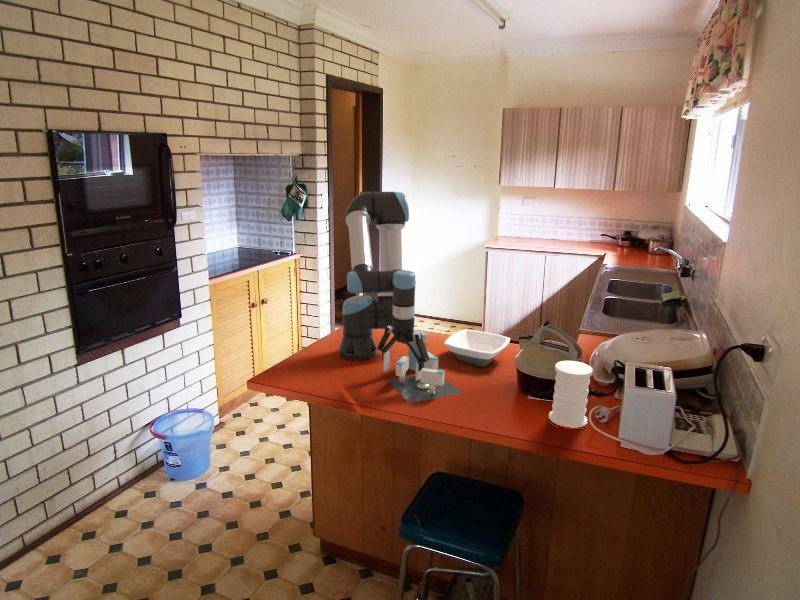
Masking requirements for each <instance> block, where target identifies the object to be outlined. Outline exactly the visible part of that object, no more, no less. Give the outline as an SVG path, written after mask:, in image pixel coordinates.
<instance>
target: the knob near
mask: <svg viewBox="0 0 800 600" xmlns="http://www.w3.org/2000/svg"><path fill="white" fill-rule="evenodd" d="M408 370H410V369H409V357H408V356H405V355H403V356H401V357H400V359H399V360H397V361H396V362H395V376H396V377H399V378H398V379H399V382H400V383H404V382H405V377H406V373H407V371H408Z"/></svg>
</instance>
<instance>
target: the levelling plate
mask: <svg viewBox="0 0 800 600" xmlns="http://www.w3.org/2000/svg"><path fill="white" fill-rule="evenodd" d="M420 380H421V379H419V380H418V381H417V380H416V375H412V376H410V375H409V376H405V382H404V383H400V382H399V378H395V379H394V378H393V379H389V380H386V382H387V383H388V384H389V385H390V386H391V387H392V388H393V389H394V390H395V391H396V392H397V393H398V394H399V395H400V396H401V397H402V398H403V399H404V400H405V401H406V402H407V403H408V404H413V403H418V402H419V403H420V402H424V401H429V400H435V399H440V398H445V397H450V396H455V395H461V394H463V392H462V391H461V390H460V389H459V388H458V387H456V386H454V385H453V384H452V383H451V382H450V381H448V380H447V379H446V378H445V377H444V384H443V386H440V385H435V394H429V384H427V383H421V382H420Z"/></svg>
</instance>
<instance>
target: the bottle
mask: <svg viewBox="0 0 800 600" xmlns="http://www.w3.org/2000/svg"><path fill="white" fill-rule="evenodd" d="M413 331H414V333H422V340H423V343H424V345H425V348H426V351H427V352H429V350H428V348H429V346H428V342H427V340H428V339H427V337H428V332H427V331H425V330H422V329H413ZM413 339H414V337H413ZM410 342H411V341H410ZM415 344H416V341H415ZM416 345H417V344H416ZM407 357H409V369H408V370H410V371H414V372H416V362H418V361H417V359H416V357H415V356H414V354H413V352H412V351H411V349H410V347H409V346H408V356H407ZM424 368H427V367H426V366H425V365H424Z"/></svg>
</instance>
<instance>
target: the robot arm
mask: <svg viewBox="0 0 800 600" xmlns="http://www.w3.org/2000/svg"><path fill="white" fill-rule="evenodd" d="M344 220H345V223H346V226H347V227H348V236H349V238H348V239H349V248H350V249H349V250H350V264H351V271H348V272H347V273H346V283H347V284H346V285H347V291H348V293H350V294H362V295H355V296H351V297H349V298H347V299H345V300H344V301H343V303H342V312H341V314H342V338H341V341H340V344H339V347H338V356H339V357H340V358H342V359H344V360H347V361H353V362H354V361H355V362H356V361H357V362H358V361H367V360H370V359H373V358H375V357H376V355H377V350H378V351H380V352H381V361H383V372H386V371H388V370H390V368H391V367H390V362H391V358H390V357H391V353H390V352H391V351H390V350H389V349H391V348H392V346H393V345H394V344H395V343H402V344H404V345H406V346H407V347H408V348H409V347H410V349H411V351H412V352H413V354H414V356H415V357H416V359H417V361H418V362H416V371H415V376H416V380H417V381H418V380H419V379H421V369H422V368H424V362H426V361H428V360H429V356H428V353H427V351H426V348H425V345H424V343H423V340H422V333H414V331H413V330H415V329H414V327H415V314H416V313H415V312H416V310H415V309H416V308H415V307H416V304H415V302H416V300H415V299H416V284H417V281H416V274H415V272H413V271H411V270H408V269H407V270H406V269H403V255H402V252H403V249H402V248H403V247H402V243H403V242H402V230H403V229H404V228H405V227H406V223H407V222H408V221H409V220H410V209H409V203H408V199H407V197H406V194H405V193H403V192H402V191H400V192H399V191H393V190H392V191H365V192H361V193H359V194H357V195H355V197H354V198H352V200H351V201H350V202H349V204H348V206H347V207H346V209H345V219H344ZM371 222H372V223H373V222H375V227H376V228H377V230H378V231H379V256H380V262H379V263H380V265H379V266H380V271H379V270H374V265H373V257H372V246H371V237H370V236H371V235H370V227H369V225H370V224H371ZM366 293H367V294H368V293H370V294H371V293H372V294H373V293H378V294H377V299H373V297H372V296H370V295H364V294H366ZM373 330H384V331H383V335H382V336H381V339H380V341H379V342H378V345H377V346H376V343H375V340H374V337H373ZM391 333H392V335H393V336H392V337H391V338H390V336H391ZM413 337H414V339H413ZM389 338H390V340H389ZM388 340H389V341H388ZM387 341H388V342H387ZM410 341H411V342H410ZM415 341H416V344H417V345H416V344H415Z"/></svg>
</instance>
